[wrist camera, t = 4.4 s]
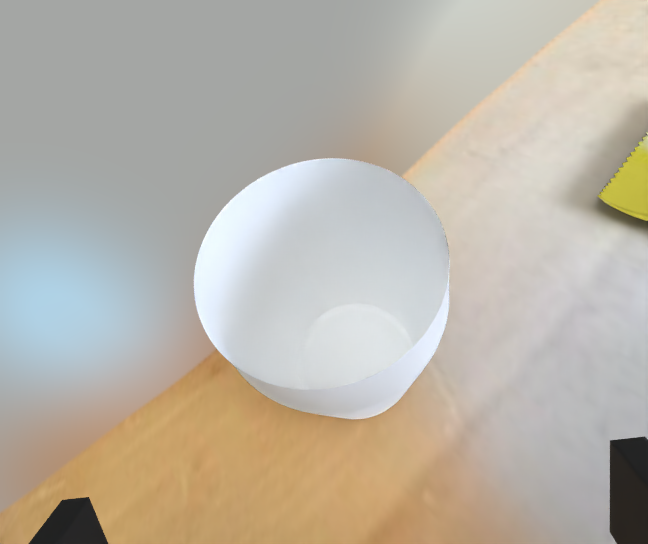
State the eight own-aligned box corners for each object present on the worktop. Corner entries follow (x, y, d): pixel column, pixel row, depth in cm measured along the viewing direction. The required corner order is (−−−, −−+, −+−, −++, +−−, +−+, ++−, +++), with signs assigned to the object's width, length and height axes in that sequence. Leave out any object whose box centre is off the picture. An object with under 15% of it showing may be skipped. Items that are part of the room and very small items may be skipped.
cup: (316, 475, 24) (240, 452, 13) (255, 328, 28) (159, 222, 17) (470, 393, 24) (516, 308, 14) (386, 262, 28) (372, 118, 18)
